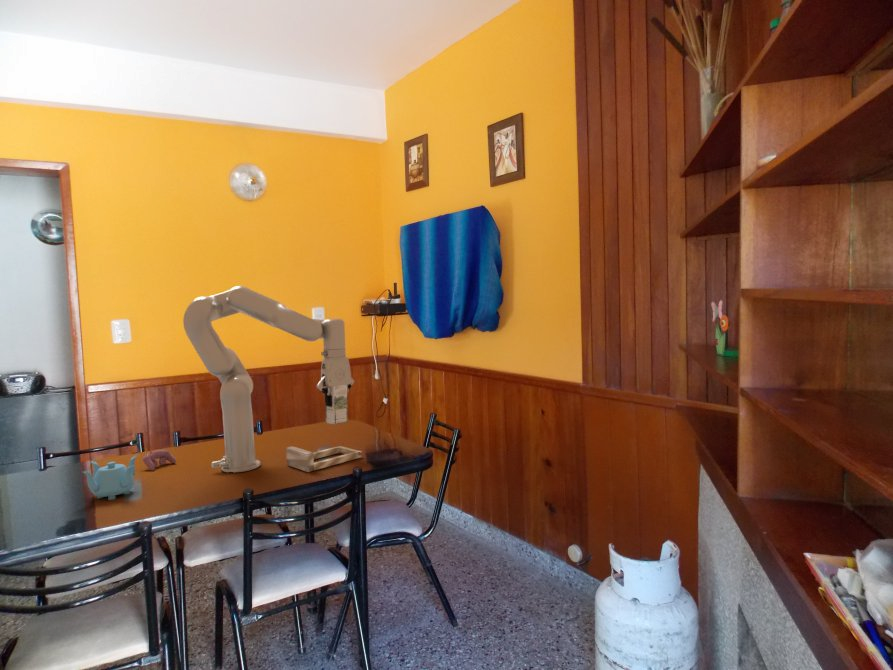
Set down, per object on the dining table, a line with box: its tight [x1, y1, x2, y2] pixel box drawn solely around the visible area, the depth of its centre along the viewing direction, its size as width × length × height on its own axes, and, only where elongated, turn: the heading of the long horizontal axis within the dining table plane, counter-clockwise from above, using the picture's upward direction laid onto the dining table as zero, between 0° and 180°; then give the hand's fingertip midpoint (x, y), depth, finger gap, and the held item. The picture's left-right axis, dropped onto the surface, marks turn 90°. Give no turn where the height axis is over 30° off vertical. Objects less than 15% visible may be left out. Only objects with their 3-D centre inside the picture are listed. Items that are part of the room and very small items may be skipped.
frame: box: [285, 445, 363, 473], centre depth 199 cm, size 22×13×6 cm, turn 135°
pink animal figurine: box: [142, 448, 177, 471], centre depth 202 cm, size 10×5×7 cm, turn 152°
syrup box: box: [324, 385, 349, 425], centre depth 202 cm, size 6×6×14 cm
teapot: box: [82, 454, 138, 501], centre depth 172 cm, size 13×13×10 cm
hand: (336, 404), depth 202 cm, fingers closed on syrup box, 5 cm apart
